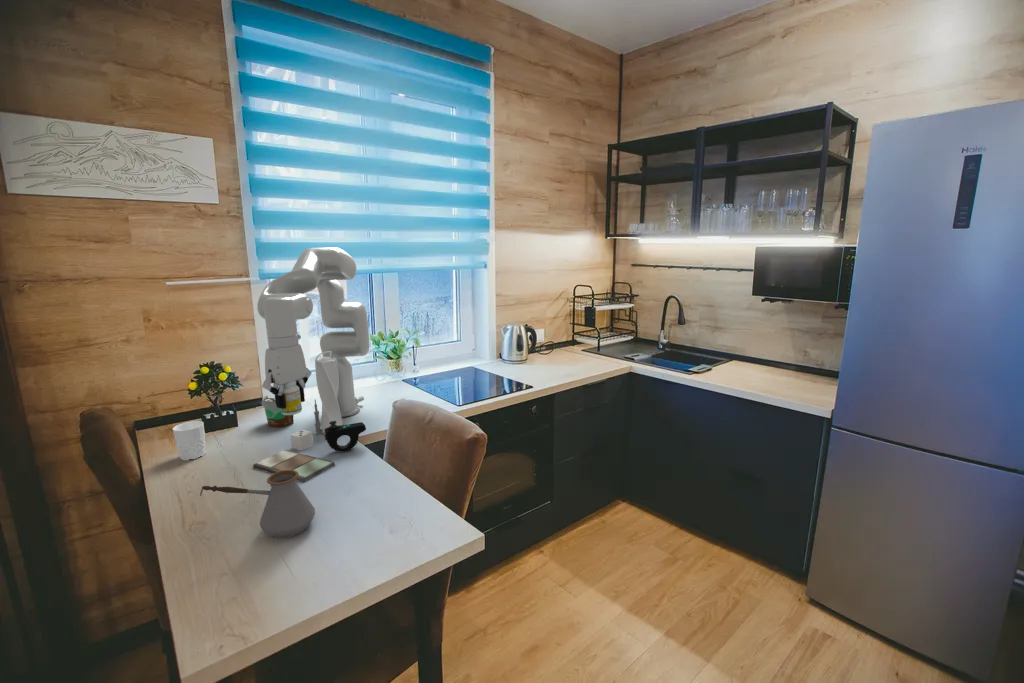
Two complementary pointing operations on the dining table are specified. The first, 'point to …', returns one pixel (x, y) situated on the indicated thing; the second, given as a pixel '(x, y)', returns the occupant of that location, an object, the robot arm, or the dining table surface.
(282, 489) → the coffee pot
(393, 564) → the dining table surface
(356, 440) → the controller
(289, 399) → the supplement bottle
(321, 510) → the dining table surface
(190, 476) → the dining table surface
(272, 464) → the game strip
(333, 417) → the skyscraper
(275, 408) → the food container
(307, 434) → the die
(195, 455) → the white cup
